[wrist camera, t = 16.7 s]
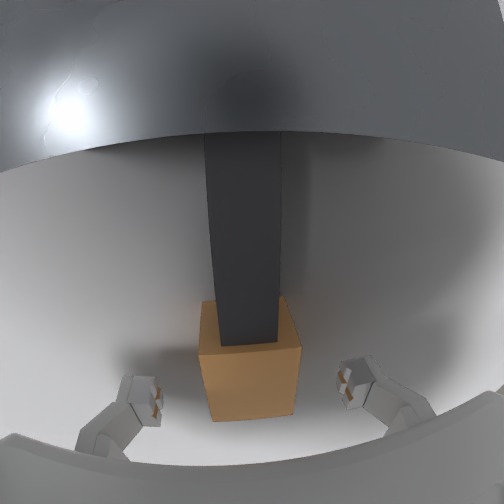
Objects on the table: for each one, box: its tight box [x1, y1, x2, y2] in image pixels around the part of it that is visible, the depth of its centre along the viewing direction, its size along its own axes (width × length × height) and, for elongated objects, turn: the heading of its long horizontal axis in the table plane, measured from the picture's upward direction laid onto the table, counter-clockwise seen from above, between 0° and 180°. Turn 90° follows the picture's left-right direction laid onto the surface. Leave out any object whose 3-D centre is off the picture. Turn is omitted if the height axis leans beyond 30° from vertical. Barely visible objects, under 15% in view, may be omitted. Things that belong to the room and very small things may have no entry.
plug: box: [198, 131, 302, 422], centre depth 9 cm, size 18×4×3 cm, turn 1°
